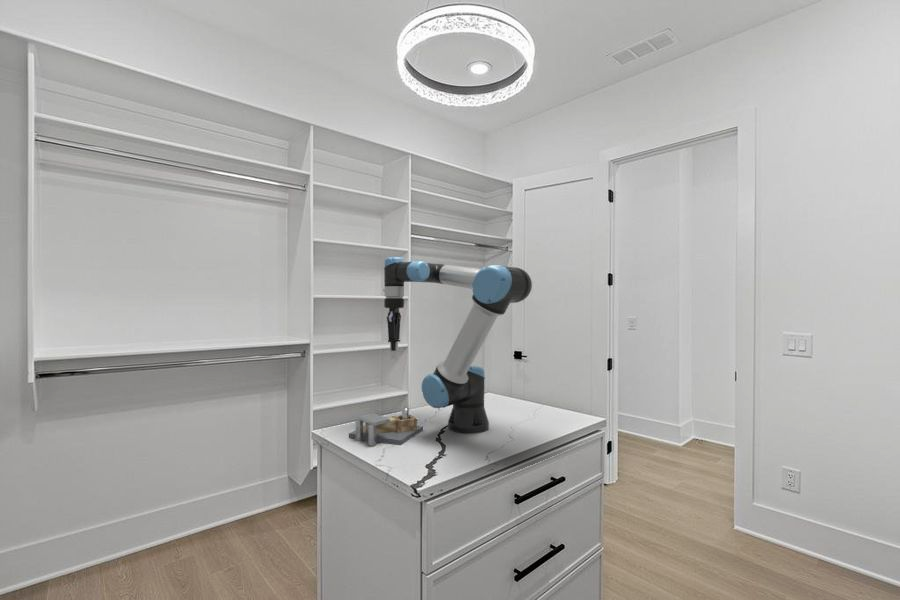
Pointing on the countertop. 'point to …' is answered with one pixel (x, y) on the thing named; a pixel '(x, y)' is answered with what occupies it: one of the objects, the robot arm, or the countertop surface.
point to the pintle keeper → (374, 424)
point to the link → (396, 425)
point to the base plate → (389, 436)
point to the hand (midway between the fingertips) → (394, 358)
